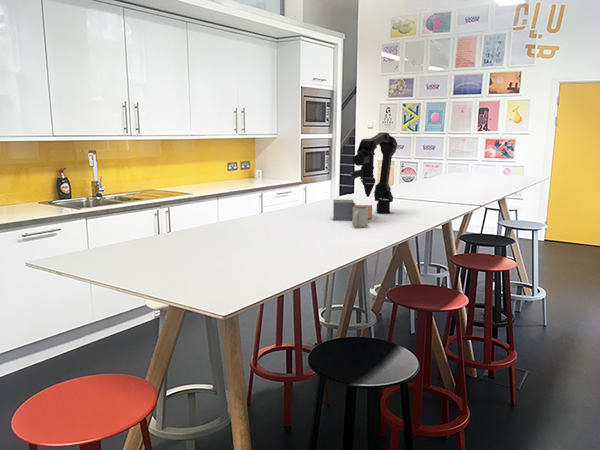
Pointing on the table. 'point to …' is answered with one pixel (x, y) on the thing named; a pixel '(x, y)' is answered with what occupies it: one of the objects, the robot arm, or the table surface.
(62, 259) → the table surface
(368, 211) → the pink ridged slab
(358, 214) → the cup
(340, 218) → the dark grey block
